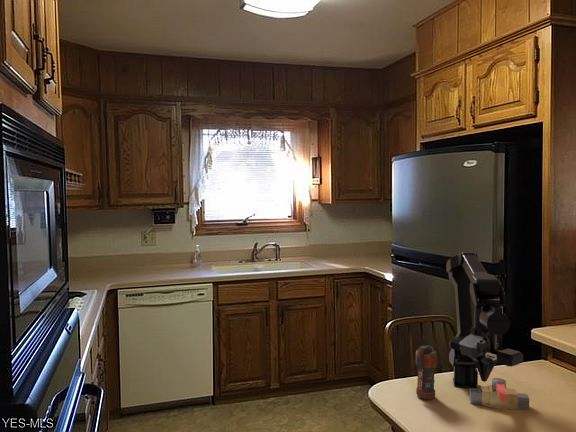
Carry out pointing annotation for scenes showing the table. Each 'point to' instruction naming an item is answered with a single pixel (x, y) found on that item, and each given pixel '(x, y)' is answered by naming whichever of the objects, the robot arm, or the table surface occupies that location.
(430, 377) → the grenade
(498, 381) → the lever
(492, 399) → the valve pipe
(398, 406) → the table surface
